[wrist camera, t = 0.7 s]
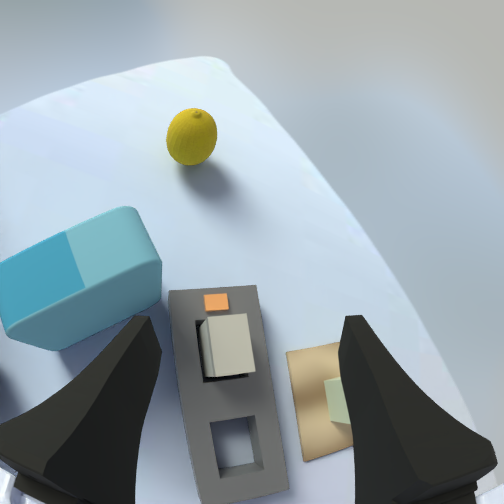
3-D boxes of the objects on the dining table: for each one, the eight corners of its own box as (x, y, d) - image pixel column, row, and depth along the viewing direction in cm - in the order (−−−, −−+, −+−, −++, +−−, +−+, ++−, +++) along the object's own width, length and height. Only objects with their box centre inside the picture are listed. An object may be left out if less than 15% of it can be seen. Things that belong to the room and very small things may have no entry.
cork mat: (379, 432, 30) (381, 433, 29) (303, 460, 26) (304, 461, 26) (364, 336, 34) (366, 335, 33) (285, 352, 31) (287, 351, 30)
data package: (142, 261, 30) (135, 197, 19) (162, 301, 29) (164, 256, 19) (39, 310, 25) (-19, 271, 14) (55, 353, 24) (-2, 336, 14)
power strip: (278, 480, 25) (291, 490, 22) (198, 496, 23) (203, 509, 19) (247, 293, 32) (257, 283, 29) (168, 298, 29) (169, 289, 26)
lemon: (172, 138, 37) (179, 90, 30) (214, 149, 38) (229, 103, 31) (157, 171, 34) (161, 123, 27) (203, 184, 35) (216, 137, 28)
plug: (353, 412, 29) (395, 416, 23) (330, 420, 29) (370, 426, 22) (347, 374, 31) (388, 370, 25) (323, 380, 30) (362, 378, 24)
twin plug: (234, 372, 29) (255, 371, 22) (203, 376, 28) (216, 376, 21) (227, 327, 30) (246, 313, 24) (197, 330, 29) (207, 316, 23)
